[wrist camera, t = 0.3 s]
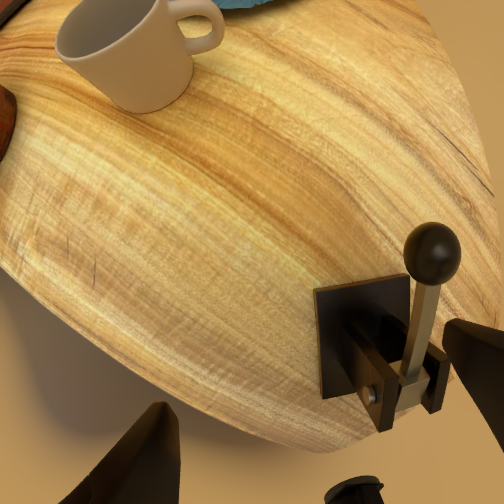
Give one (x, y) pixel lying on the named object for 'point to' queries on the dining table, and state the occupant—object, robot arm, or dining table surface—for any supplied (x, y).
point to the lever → (424, 302)
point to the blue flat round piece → (236, 3)
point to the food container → (6, 118)
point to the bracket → (371, 345)
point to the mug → (136, 48)
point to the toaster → (8, 8)
